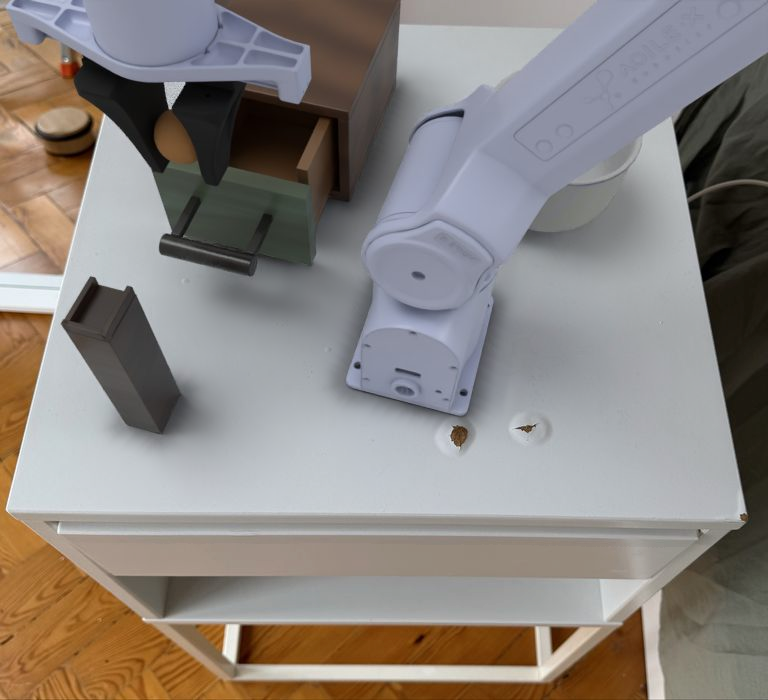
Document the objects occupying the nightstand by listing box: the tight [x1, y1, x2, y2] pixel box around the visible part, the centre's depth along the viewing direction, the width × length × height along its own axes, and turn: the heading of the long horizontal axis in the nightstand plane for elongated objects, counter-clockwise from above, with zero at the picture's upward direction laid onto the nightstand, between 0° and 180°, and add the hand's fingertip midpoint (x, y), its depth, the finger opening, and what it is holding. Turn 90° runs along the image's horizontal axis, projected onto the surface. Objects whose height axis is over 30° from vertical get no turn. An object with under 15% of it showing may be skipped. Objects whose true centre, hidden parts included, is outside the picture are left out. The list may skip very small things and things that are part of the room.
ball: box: [154, 108, 198, 164], centre depth 40 cm, size 3×3×3 cm
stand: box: [60, 275, 182, 435], centre depth 41 cm, size 3×2×12 cm
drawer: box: [150, 98, 339, 278], centre depth 50 cm, size 17×10×7 cm, turn 165°
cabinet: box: [184, 0, 402, 202], centre depth 55 cm, size 14×12×9 cm
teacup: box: [494, 69, 644, 233], centre depth 52 cm, size 14×11×8 cm
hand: (191, 166), depth 42 cm, fingers closed on ball, 3 cm apart
